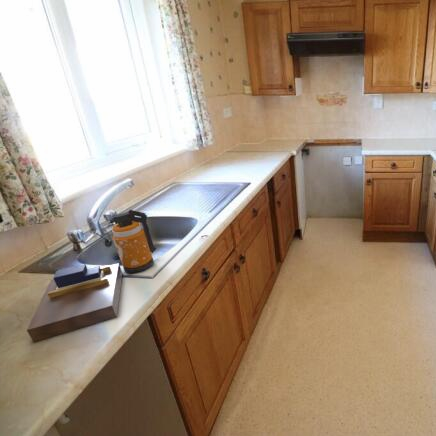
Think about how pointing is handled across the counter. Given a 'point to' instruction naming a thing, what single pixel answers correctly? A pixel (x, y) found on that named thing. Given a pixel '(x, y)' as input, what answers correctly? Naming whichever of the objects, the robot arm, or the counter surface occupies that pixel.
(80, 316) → the brown rectangular slab
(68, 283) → the blue box
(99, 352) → the counter surface
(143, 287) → the counter surface
